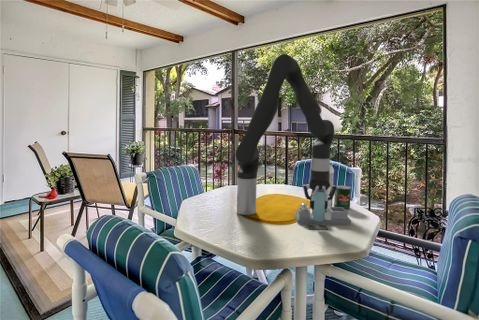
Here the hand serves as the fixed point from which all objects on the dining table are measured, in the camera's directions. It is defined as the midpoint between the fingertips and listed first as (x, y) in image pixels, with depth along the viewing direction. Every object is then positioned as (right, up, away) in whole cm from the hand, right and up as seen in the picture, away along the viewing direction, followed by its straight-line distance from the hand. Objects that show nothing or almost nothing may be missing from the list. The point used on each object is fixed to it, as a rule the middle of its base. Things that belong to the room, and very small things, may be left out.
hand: (318, 208), depth 125 cm
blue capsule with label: (0, -4, 0) cm, 4 cm away
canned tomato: (+20, -4, +29) cm, 36 cm away
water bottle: (+10, -5, +25) cm, 27 cm away
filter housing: (+4, -7, +9) cm, 12 cm away
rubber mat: (0, -8, +1) cm, 8 cm away
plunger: (-4, -4, +8) cm, 10 cm away
